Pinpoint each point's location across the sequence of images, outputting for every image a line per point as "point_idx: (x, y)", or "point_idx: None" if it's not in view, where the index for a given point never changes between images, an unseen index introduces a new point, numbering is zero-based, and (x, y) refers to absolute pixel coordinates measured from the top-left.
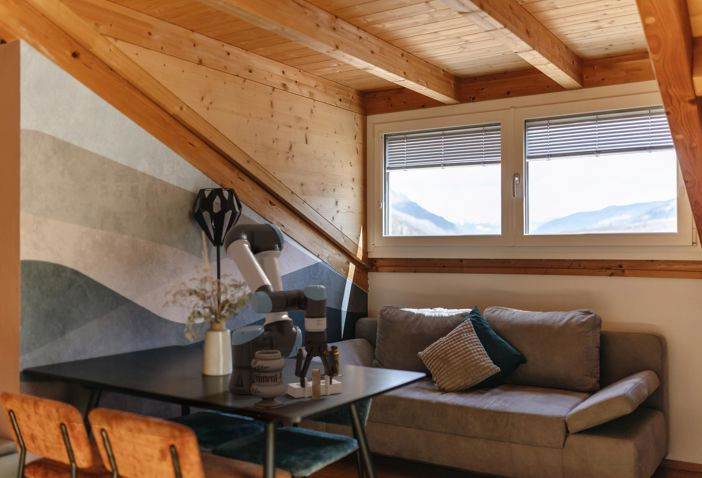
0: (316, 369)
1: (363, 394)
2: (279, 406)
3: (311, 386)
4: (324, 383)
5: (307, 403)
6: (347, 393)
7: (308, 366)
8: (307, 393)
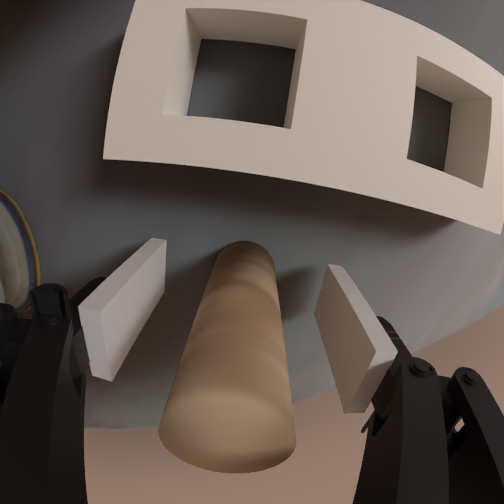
0: (261, 422)
1: (482, 313)
2: (24, 312)
3: (266, 174)
4: (451, 81)
5: (146, 330)
6: (466, 250)
7: (77, 487)
8: (154, 305)
